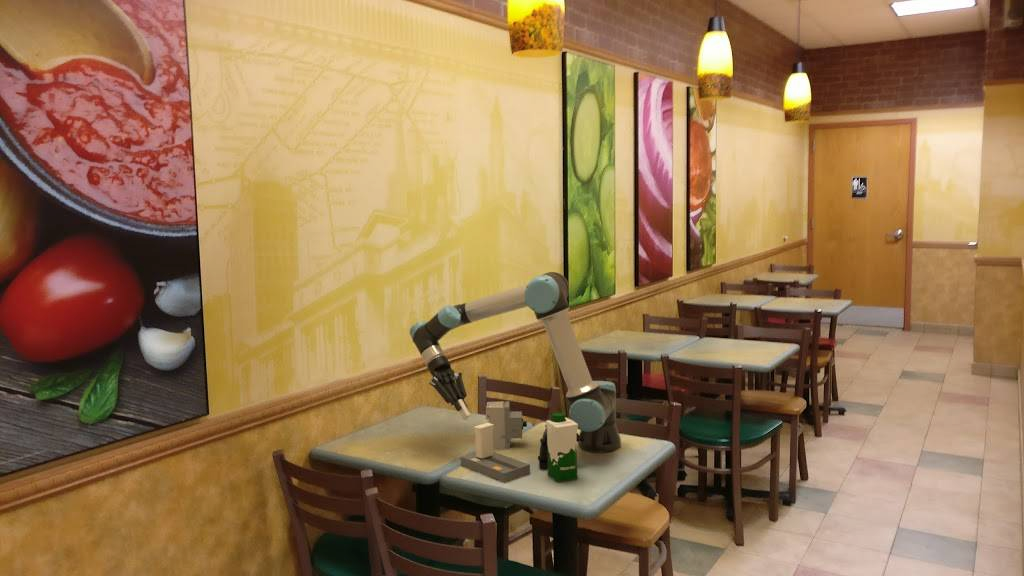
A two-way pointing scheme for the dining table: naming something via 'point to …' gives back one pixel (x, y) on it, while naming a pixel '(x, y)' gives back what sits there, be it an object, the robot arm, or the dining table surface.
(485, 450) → the cream rectangular box
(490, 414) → the circuit breaker
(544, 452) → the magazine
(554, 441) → the milk carton
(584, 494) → the dining table surface
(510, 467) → the switch panel
